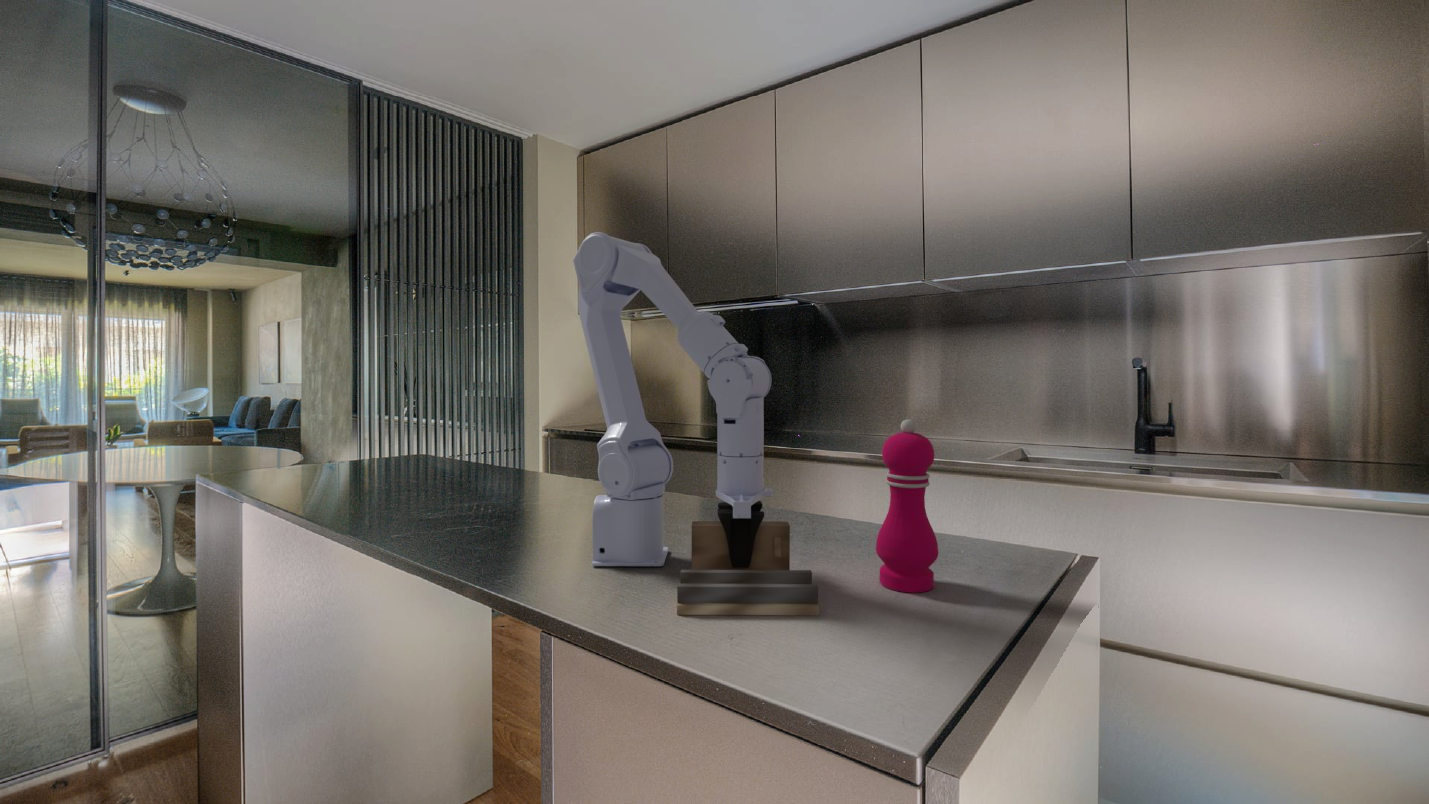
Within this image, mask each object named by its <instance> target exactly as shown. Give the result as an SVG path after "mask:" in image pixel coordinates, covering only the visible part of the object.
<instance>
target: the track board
mask: <svg viewBox="0 0 1429 804" xmlns="http://www.w3.org/2000/svg"><path fill="white" fill-rule="evenodd" d="M679 575H680V578H679V579H680V581H679V582H680V583H677V586H676V587H677V588H676V590H677V591H676V593H677V597H676V598H677V599H676V601H677V604H676V615H678V616H679V615H681V616H682V615H683V616H684V615H685V616H686V615H687V616H691V615H692V616H696V615H697V616H700V615H701V616H820V605H819V585H818V584H817V583H813V572H812V570H810V569H809V570H808V569H795V570H794V569H790V570H692V569H681V570H680V574H679Z"/></svg>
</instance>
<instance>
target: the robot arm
mask: <svg viewBox="0 0 1429 804" xmlns="http://www.w3.org/2000/svg"><path fill="white" fill-rule="evenodd" d="M573 265H574V270H575V274H576V277H577V278H576V279H577V282H578V283H577V284H578V296H577V309H578V310H577V311H578V315H579V318H580V323H581V328H582V331H583V335H584V339H585V344H586V348H587V352H588V356H589V359H590V364H591V368H592V372H593V377H594V380H595V384H596V389H597V392H598V396H599V401H600V404H601V406H600V407H601V409H602V412H603V413H602V414H603V416H604V417H603V418H604V421H605V425H606V429H607V430H606V431H605V433H604V435H603V436H602V437H601V439H600V440H599V441H598V443H597V444H596V448H597V449H596V450H597V453H598V466H597V476H598V477H597V478H598V480H599V483H600V485H601V487H602V488H603V490H604V491H605V492H606V494H599V495H596V496H595V498H594V502H593V507H592V519H591V521H592V562H591V566H593V567H663V566H664V564H665V562H666V559H667V556H668V552H669V547H668V546H664V492H665V491H666V484H667V483H668V482H669V481H670V479H671V478H672V475H673V473H674V460H673V456H672V454H671V452H670V451H669V450H668V447H666V446H665V444H664V441H663V439H662V435H661V432H660V431H659V430H658V429H657V428H656V427H654V426H653V424H651V423H650V422H649V421H648V420H647V417H646V414H645V413H646V412H645V410H644V406H643V402H642V398H641V393H640V389H639V386H638V382H637V377H636V374H635V369H634V365H633V362H632V358H631V354H630V350H629V345H628V341H627V337H626V334H625V330H624V325H623V322H622V318H621V313H622V311H623V309H624V307H626V306H627V305H628V304H629V303H630V302H631V301H632V300H633V299H634V298H635V297H636V295H637V294H639V292H640V291H641V292H642V293H643V294H644V295H645V296H646V297H647V299H649V301H650V302H652V304H654V305H655V307H656V308H657V309H658V310H660V312H661V313H662V314H663V315H664V316H665V317H666V318H667V319H668V320H669V321H670V322H671V323H672V324H673V325H674V326H675V327H676V329H677V336H676V337H677V338H676V339H677V343H678V344H679V346H680V347H681V348H682V349H683V350H684V352H685V353H686V354H687V355H688V356H689V358H690V359H691V360H692V361H693V362H694V364H695V365H696V366H697V367H698V368H699V369H700V370H701V372H702V373H703V374H704V375H705V377H707V380H706V382H707V388H708V392H709V393H710V395H711V397H712V398H713V400H714V401H715V409H716V410H715V412H716V414H717V417H716V418H717V425H716V426H717V427H716V428H717V430H716V431H717V437H716V438H717V443H716V446H717V452H716V453H717V454H716V455H717V457H716V459H717V461H716V462H717V463H716V464H717V465H716V467H717V468H716V469H717V470H716V471H717V472H716V475H717V477H716V480H717V483H716V485H717V486H716V487H717V488H716V489H715V496H716V498H718V499H719V500H722V501H721V502H718V503H717V517H718V519H719V521H720V522H721V523H722V526H723V528H724V531H725V534H726V538H727V543H728V549H729V555H730V560H731V564H732V567H733V568H748V567H749V566H750V562H751V558H752V553H753V547H754V541H755V537H756V534H757V531H758V528H759V526H760V524H761V522H762V521H763V520H764V518H765V512H764V511H763V510H762V509H763V502H762V500H763V499H764V498H765V497H773V496H774V490H773V488H768V487H765V488H764V484H765V483H764V473H765V472H764V470H765V469H764V467H765V465H764V460H765V459H764V458H765V457H764V453H765V452H764V447H765V446H764V444H765V443H764V442H765V439H764V437H765V436H764V435H765V433H764V432H765V431H764V429H765V427H764V426H765V425H764V424H765V421H764V420H765V418H764V417H765V416H764V415H765V414H764V412H765V411H764V409H765V408H764V405H765V404H764V400H765V399H764V398H765V397H767V396H768V394H769V392H770V389H771V387H772V380H773V379H772V373H771V371H770V369H769V367H768V366H767V364H766V362H765V360H764V359H762V358H760V357H758V356H754V355H748V351H749V349H748V347H747V346H746V345H745V344H743V343H739V342H738V341H737V340H736V339H735V338H734V336H732V334H731V333H730V332H729V331H728V330H727V329H726V328H725V326H724V325H725V324H726V320H725V319H724V318H723V317H722V316H721V315H717V314H713V313H711V312H708V311H698V310H697V308H696V307H695V306H694V305H693V303H692V302H691V301H690V299H689V298H688V297H687V296H686V294H685V293H684V292H683V290H682V289H681V288H680V286H679V285H678V284H677V283H676V282H675V280H674V279H673V278H672V277H671V276H670V274H669V273H668V271H667V270H666V269H665V267H664V266H663V265H662V262H661V259H660V258H659V257H658V256H657V255H655V254H653V253H652V251H651V250H650V248H649V247H648V246H646V245H645V244H642V243H639V242H631V241H628V240H625V239H621V238H618V237H614V236H610V235H608V234H607V233H605V232H601V231H596V232H592V233H589V235H587V236H586V237H585V238H584V239H583V240H582V242H581V243H580V245H579V248H578V250H577V252H576V254H575V256H574V258H573ZM629 446H630V447H629Z"/></svg>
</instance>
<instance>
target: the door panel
mask: <svg viewBox="0 0 1429 804" xmlns="http://www.w3.org/2000/svg"><path fill="white" fill-rule="evenodd" d="M790 529H791V525H790V523H789V521H777V520H776V521H769V520H768V521H763V520H762V522H761V524H760V526H759V528H758V531H757V534H756V537H755V541H754V547H753V553H752V558H751V562H750V566H749V567H748V568H733V567H732V564H731V560H730V555H729V549H728V543H727V538H726V534H725V531H724V528H723V526H722V523H721V522H720V520H719V521H718V520H715V521H714V520H712V521H710V520H707V521H705V520H702V521H701V520H698V521H697V520H695V521H694V520H693V521H692V523H691V570H791V569H790V564H791V562H790V561H791V559H790V558H791V557H790V556H791V555H790V553H791V551H790V550H791V549H790V547H791V546H790V545H791V542H790V541H791V540H790V539H791V536H790V535H791V533H790V532H791V530H790Z"/></svg>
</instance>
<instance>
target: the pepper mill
mask: <svg viewBox="0 0 1429 804" xmlns="http://www.w3.org/2000/svg"><path fill="white" fill-rule="evenodd" d="M916 429H917V424H916V423H915V421H914V420H912V419H910V418H909V419H904V420H902V422H901V424H900V430H901V432H898V433H895V434H892V435H891V436H889V437H888V438H887V439H886V441H884V442H883V443H884V444H883V446H882V451H881V457H882V461H883V463H884V464H885V466H886V467H887V469H888V471H887V472H886V473H885V476H886V480H885V483H886V484H887V486H889V493H890V499H889V507H888V511H887V513H886V516H885V518H884V521H883V522H882V524H881V527H880V529H879V531H878V534H877V537H876V544H875V551H876V554H877V556H878V557H879V559H880V560H881V562H882V563H883V565H881V566H880V567H879V583H880V584H881V585H882V587H884V586H885V588H887V589H889V590H891V589H892V590H891V591H896V592H899V591H901V592H900V593H902V592H903V593H908V594H909V593H911V594H912V593H914V594H915V593H919V594H920V593H925V592H929V591H930V590H933V588H934V582H935V581H934V580H935V579H934V577H935V573H934V571H933V570H932V569H931V568H930V567H931V566H932V565H933V564H934V563H935V562H936V561H937V559H938V557H939V544H938V540H937V537H936V534H935V531H934V529H933V527H932V524H931V523H930V520H929V518H928V513H927V511H926V504H925V503H926V502H925V501H926V499H925V496H926V490H927V489H926V488H927V487H929V486H930V482H929V479H930V476H931V475H930V474H929V473H927V471H928V469H929V468H930V467H931V466H933V463H934V460H935V450H934V449H935V448H934V446H933V444H932V443H931V441H930V439H929V438H927V437H926V436H925V435H924V434H923V435H922V434H920V433H916V432H915V431H916Z"/></svg>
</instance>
